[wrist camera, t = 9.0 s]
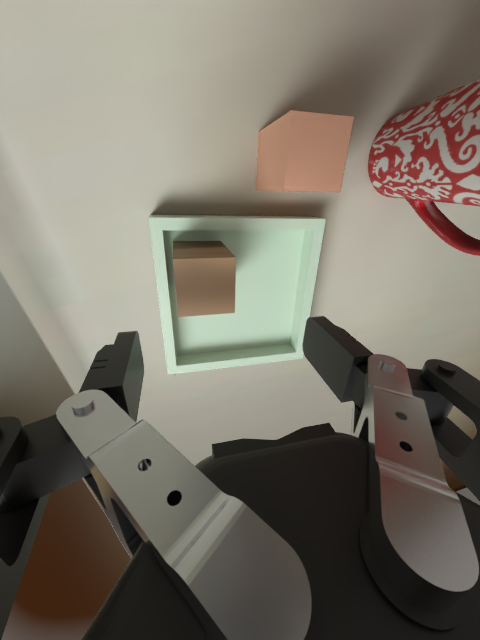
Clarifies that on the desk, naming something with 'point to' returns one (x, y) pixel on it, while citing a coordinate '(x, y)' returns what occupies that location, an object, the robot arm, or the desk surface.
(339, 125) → the terracotta block
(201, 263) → the walnut block
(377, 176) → the mug
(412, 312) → the desk surface
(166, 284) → the tray
